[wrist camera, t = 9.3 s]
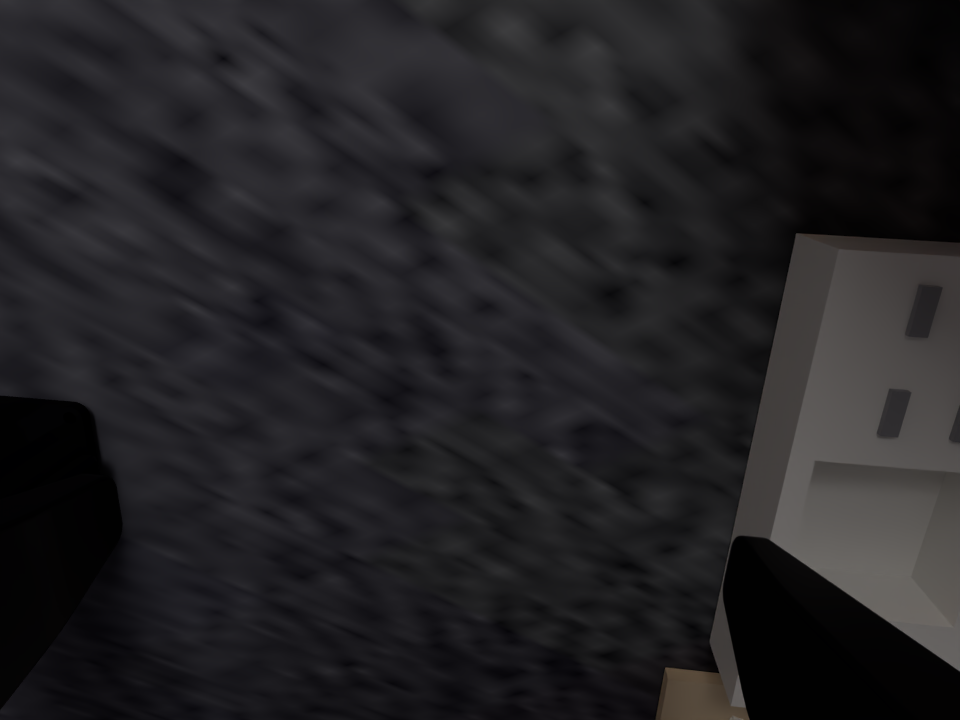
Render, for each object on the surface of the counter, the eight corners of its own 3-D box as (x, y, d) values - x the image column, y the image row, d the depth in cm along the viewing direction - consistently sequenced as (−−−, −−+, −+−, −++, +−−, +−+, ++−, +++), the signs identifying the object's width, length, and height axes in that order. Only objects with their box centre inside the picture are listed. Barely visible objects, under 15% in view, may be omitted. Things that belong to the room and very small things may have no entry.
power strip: (709, 642, 25) (734, 718, 22) (796, 233, 20) (847, 252, 16) (893, 661, 25) (948, 742, 21) (1034, 247, 19) (1136, 270, 16)
